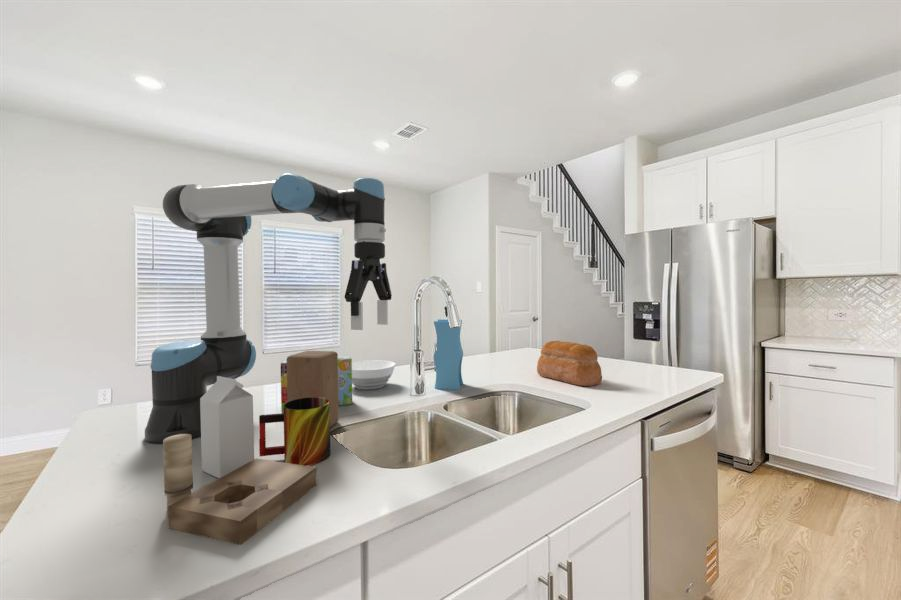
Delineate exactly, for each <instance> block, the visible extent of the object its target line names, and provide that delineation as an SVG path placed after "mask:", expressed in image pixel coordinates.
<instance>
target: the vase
mask: <svg viewBox="0 0 901 600" xmlns="http://www.w3.org/2000/svg"><path fill="white" fill-rule="evenodd" d="M459 320H460V321H461V326H460V327H458V328H453V329H452V328H450V326H449V322H448V318H447V319H442V318H441V319H439V318H438V319H437V321H435V320H433V325H434V327H435V328H434V329H435V335H436V345H435V350H434V353H433V362H434V366H435V384H434V389H435V390H447V391H448V390H449V391H451V390H453V391H460V390H461V385H463V384H464V382H463V376H462V375H463V374H462V362H463V357H464V350H463V347H462V343H461V329H462V324H463V320H462V319H459ZM436 347H437V351H436Z"/></svg>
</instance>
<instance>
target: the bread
mask: <svg viewBox="0 0 901 600" xmlns="http://www.w3.org/2000/svg"><path fill="white" fill-rule="evenodd" d="M540 354H541V355H540V356H539V357H538V360H537V364H536V365H537V366H536V372H537V374H538V375H540V377H544V378H548V379H552V380H556V381H560V382H565V383H567V384H570V385H576V386H579V387H592V386H597V385H600V384H601V382H602V381H603V375H602V367H601V365H600V364H599V360H598V354H597V352H596V350H595V349H594V348H593V347H592V346H590V345H588V344H581V343H577V342H572V341H561V340H551V341H548V342H546V343H545V344H544V345H543V346H542V348H541V349H540Z"/></svg>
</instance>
